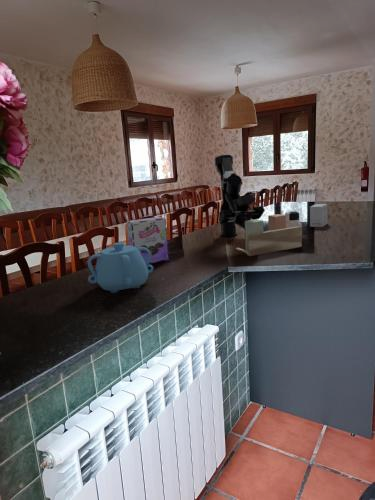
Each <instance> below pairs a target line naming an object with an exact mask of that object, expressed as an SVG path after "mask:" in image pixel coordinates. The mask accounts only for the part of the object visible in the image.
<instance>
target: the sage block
mask: <svg viewBox="0 0 375 500" xmlns="http://www.w3.org/2000/svg"><path fill="white" fill-rule="evenodd" d="M258 232H264V220H261V219H255V220H253V219H251V220H248V221H245V229H244V233H245V234H244V237H245V250H246V251H247V234H252V233H258Z"/></svg>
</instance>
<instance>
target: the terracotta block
mask: <svg viewBox="0 0 375 500" xmlns="http://www.w3.org/2000/svg"><path fill="white" fill-rule="evenodd" d="M267 220H268V221H267V225H268V226H267V229H268V230H267V231H271V230H278V229H284V228H286V215H285V214H279V213H277V214H270V215H267Z"/></svg>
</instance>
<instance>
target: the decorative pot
mask: <svg viewBox="0 0 375 500" xmlns="http://www.w3.org/2000/svg"><path fill="white" fill-rule="evenodd" d="M141 250H144V251H146V252H147V259H146V263H145V261H144V259H143V257H142V255H141V254H140V252H139V251H141ZM150 257H151V253H150V251H149V250H148V249H147V248H145V247H139V248H136V247H134V246H129V245H125V242H121V241H119V242H114V243H113V244H112V247H107V248H104V249H102V250H100V253H96V254H93V255H91V256H90V257H89V258H88V260H87V267H88V269H89V271H90V273H91V274H90V275H89V276H88V282H89V283H90V284H94V285H95V284H98V285H99V286H100V288H101V289H102V290H105V291H109V292H110V293H113V294H116V293H119V292H120V291H121V290H122V291H123V290H128V289H140V288H141V286H142V285H144V284H145V283H146V282H147V280H148V278H149V274H151V273H152V272H153V271H154V266H153V265H152V264H149V262H150ZM96 258H97V261H96V265H95V270H94V267H93V265H92V261H93V260H94V259H96ZM149 268H150V269H149ZM92 278H94V279H92Z"/></svg>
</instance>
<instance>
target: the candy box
mask: <svg viewBox="0 0 375 500" xmlns="http://www.w3.org/2000/svg"><path fill="white" fill-rule="evenodd" d="M126 231H127V239H128V246H134V247H136V248H139V247H145V248H147V249H148V250H149V251H150V253H151V257H150V262H149V265H151V264H156V263H159V262H166V261H169V260H170V257H169V256H170V255H169V254H170V253H169V244H168V243H169V242H168V231H167V221H166V217H162V216H155V217H148V218H140V219H133V220H126ZM139 252H140V254H141V255H142V257H143V259H144V261H145V263H146V259H147V252H146V251H144V250H141V251H139Z"/></svg>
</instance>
